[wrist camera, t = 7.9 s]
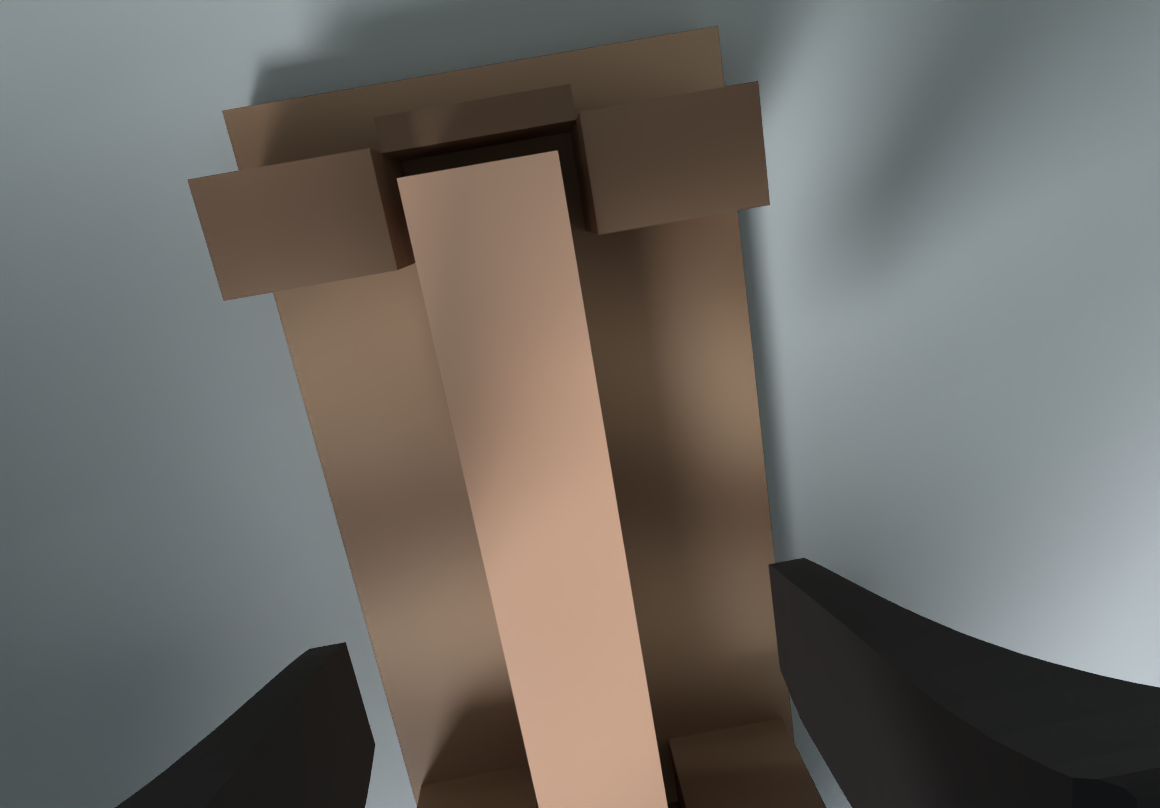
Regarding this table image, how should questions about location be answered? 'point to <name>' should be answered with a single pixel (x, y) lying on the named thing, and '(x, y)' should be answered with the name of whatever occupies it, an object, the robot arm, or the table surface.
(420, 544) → the strip rack
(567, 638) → the clay strip
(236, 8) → the table surface
